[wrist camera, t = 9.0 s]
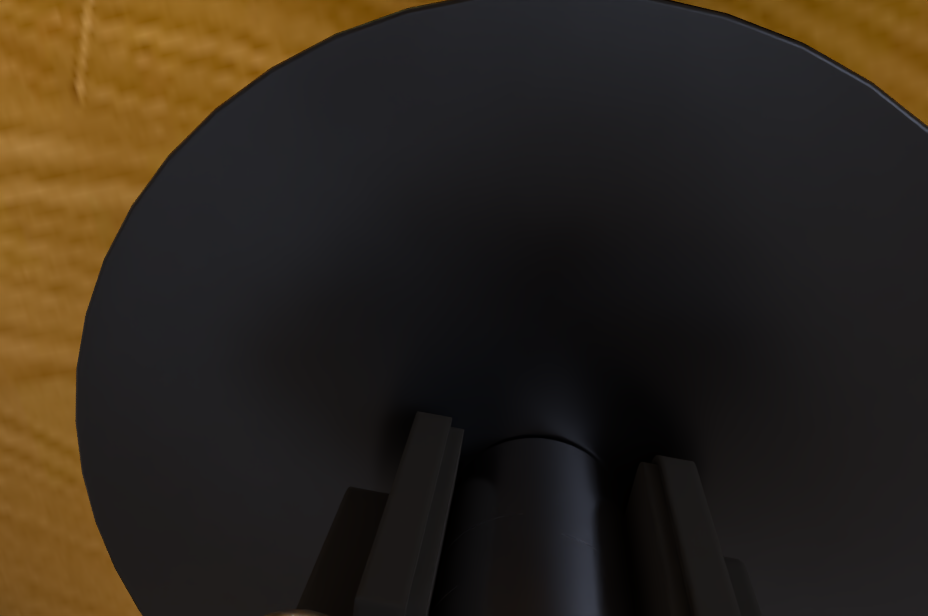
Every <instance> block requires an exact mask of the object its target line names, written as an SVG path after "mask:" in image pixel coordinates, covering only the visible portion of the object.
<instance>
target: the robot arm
mask: <svg viewBox="0 0 928 616" xmlns="http://www.w3.org/2000/svg"><path fill="white" fill-rule="evenodd" d="M451 423H452V417H447V416H441V415H436V414H430V413H425V412H419V411H417V413H416V415H415V418H414V421H413V424H412V427H411V430H410V433H409V437H408V440H407V443H406V446H405V449H404V452H403V455H402V458H401V461H400V464H399V467H398V470H397V473H396V476H395V479H394V482H393V485H392V488H391V491H390V494H388V493H383V492H377V491H372V490H367V489H361V488H356V487H351V486H350V487H349V488H347V490H346V492H345V494H344V496H343V499H342V501H341V504H340V506H339V508H338V511H337V513H336V515H335V518H334V520H333V523H332V525H331V527H330V530H329V532H328V534H327V537H326V539H325V542H324V544H323V546H322V549H321V551H320V553H319V556H318V558H317V561H316V563H315V565H314V568H313V570H312V572H311V575H310V577H309V579H308V582H307V584H306V587H305V589H304V591H303V594H302V596H301V598H300V601H299V603H298V606H297V608H296V609H288V610H283V611H278V612H273V613H270V614H267V615H265V616H429V612H430V607H431V603H432V598H433V593H434V588H435V583H436V578H437V573H438V568H439V563H440V558H441V553H442V548H443V543H444V538H445V533H446V528H447V523H448V518H449V513H450V509H451V504H452V499H453V494H454V488H455V482H456V476H457V470H458V464H459V458H460V452H461V446H462V440H463V434H464V429H460V428H454V427H451ZM624 527H625V534H626V542H627V549H628V557H629V564H630V572H631V579H632V587H633V594H634V602H635V609H636V616H762V613H761V610H760V607H759V604H758V601H757V598H756V596H755V593H754V590H753V587H752V584H751V581H750V578H749V575H748V572H747V569H746V567H745V565H744V563H743V562H742V561H740V560H739V559H734V558H729V557H724V556H723V554H722V550H721V547H720V544H719V540H718V537H717V534H716V530H715V527H714V524H713V520H712V517H711V514H710V510H709V507H708V504H707V500H706V497H705V494H704V491H703V487H702V484H701V481H700V477H699V474H698V471H697V467H696V465H695V463H694V462H692V461H688V460H682V459H677V458H671V457H666V456H660V455H656V456H655V457H654V458H653V460H652V463H645V462H641V463H640V464H639V466H638V469H637V472H636V475H635V479H634V483H633V486H632V490H631V494H630V497H629V501H628V505H627V508H626V512H625V516H624Z"/></svg>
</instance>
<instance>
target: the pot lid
mask: <svg viewBox="0 0 928 616" xmlns="http://www.w3.org/2000/svg"><path fill="white" fill-rule="evenodd" d="M417 411H419V412H425V413H430V414H436V415H441V416H447V417H452V423H451V427H454V428H460V429H464V434H463V440H462V446H461V452H460V458H459V464H458V470H457V476H456V482H455V488H454V494H453V499H452V504H451V509H450V513H449V518H448V523H447V528H446V533H445V538H444V543H443V548H442V553H441V558H440V563H439V568H438V573H437V578H436V583H435V588H434V593H433V598H432V603H431V607H430V612H429V616H636V609H635V602H634V594H633V587H632V579H631V572H630V564H629V557H628V549H627V542H626V534H625V527H624V516H625V512H626V508H627V505H628V501H629V497H630V494H631V490H632V486H633V483H634V479H635V475H636V472H637V469H638V466H639V464H640V463H641V462H645V463H652V460H653V458H654V457H655V456H656V455H660V456H666V457H671V458H677V459H682V460H688V461H692V462H694V463H695V465H696V467H697V471H698V474H699V477H700V481H701V484H702V487H703V491H704V494H705V497H706V500H707V504H708V507H709V510H710V514H711V517H712V520H713V524H714V527H715V530H716V534H717V537H718V540H719V544H720V547H721V550H722V554H723V556H724V557H729V558H734V559H739V560H740V561H742V562H743V563H744V565H745V567H746V569H747V572H748V575H749V578H750V581H751V584H752V587H753V590H754V593H755V596H756V598H757V601H758V604H759V607H760V610H761V613H762V616H928V126H927V125H925V124H924V123H923V122H922V121H920V120H919V119H918V118H917V117H915V116H914V115H913V114H912V113H910V112H909V111H908V110H906V109H905V108H904V107H903V106H901V105H900V104H899V103H898V102H896V101H895V100H894V99H893V98H891V97H890V96H889V95H888V94H886V93H885V92H884V91H883V90H881V89H880V88H879V87H878V86H876V85H875V84H874V83H872V82H871V81H869V80H867V79H866V78H864V77H862V76H860V75H859V74H857V73H855V72H853V71H852V70H850V69H848V68H846V67H845V66H843V65H841V64H839V63H838V62H836V61H834V60H832V59H831V58H829V57H827V56H825V55H824V54H822V53H820V52H818V51H817V50H815V49H813V48H811V47H810V46H808V45H806V44H804V43H802V42H800V41H797V40H794V39H792V38H789V37H787V36H784V35H782V34H779V33H776V32H774V31H771V30H769V29H766V28H764V27H761V26H758V25H756V24H753V23H751V22H748V21H746V20H743V19H740V18H738V17H735V16H733V15H730V14H727V13H723V12H719V11H714V10H710V9H706V8H701V7H697V6H693V5H688V4H684V3H680V2H675V1H671V0H446V1H441V2H436V3H431V4H426V5H421V6H417V7H412V8H407V9H404V10H401V11H398V12H396V13H393V14H390V15H387V16H384V17H382V18H379V19H376V20H373V21H370V22H367V23H365V24H362V25H359V26H356V27H353V28H350V29H348V30H345V31H342V32H339V33H336V34H334V35H332V36H330V37H328V38H327V39H325V40H323V41H321V42H319V43H317V44H315V45H313V46H311V47H310V48H308V49H306V50H304V51H302V52H300V53H298V54H296V55H294V56H292V57H291V58H289V59H287V60H285V61H283V62H281V63H279V64H277V65H275V66H273V67H272V68H270V69H269V70H267V71H266V72H265V73H263V74H262V75H261V76H259V77H258V78H256V79H255V80H254V81H252V82H251V83H250V84H248V85H247V86H246V87H244V88H243V89H241V90H240V91H239V92H237V93H236V94H235V95H233V96H232V97H231V98H229V99H228V100H227V101H225V102H224V103H222V104H221V105H220V106H218V107H217V108H216V109H214V110H213V111H212V112H211V113H210V114H209V115H208V116H207V117H206V118H205V119H204V120H203V121H202V122H201V123H200V124H199V125H198V126H197V127H196V128H195V129H194V130H193V131H192V132H191V133H190V134H189V135H188V136H187V137H186V138H185V139H184V140H183V141H182V142H181V143H180V144H179V145H178V146H177V147H176V148H175V149H174V150H173V151H172V152H171V153H170V154H169V155H168V157H167V158H166V160H165V161H164V162H163V164H162V165H161V166H160V168H159V169H158V170H157V172H156V173H155V175H154V176H153V177H152V179H151V180H150V181H149V183H148V184H147V185H146V187H145V188H144V190H143V191H142V192H141V194H140V195H139V196H138V198H137V199H136V200H135V202H134V203H133V205H132V206H131V208H130V210H129V212H128V214H127V216H126V218H125V219H124V221H123V223H122V225H121V227H120V229H119V231H118V233H117V235H116V237H115V239H114V241H113V243H112V245H111V247H110V248H109V250H108V252H107V254H106V256H105V258H104V261H103V264H102V267H101V270H100V273H99V276H98V279H97V282H96V285H95V288H94V291H93V294H92V297H91V300H90V303H89V306H88V309H87V312H86V316H85V322H84V327H83V333H82V339H81V345H80V351H79V357H78V363H77V371H76V429H77V437H78V444H79V452H80V460H81V468H82V474H83V478H84V482H85V485H86V489H87V493H88V496H89V500H90V504H91V507H92V511H93V515H94V518H95V522H96V524H97V527H98V529H99V532H100V534H101V536H102V539H103V541H104V543H105V546H106V548H107V551H108V553H109V555H110V558H111V560H112V563H113V565H114V567H115V569H116V571H117V573H118V575H119V576H120V578H121V580H122V582H123V583H124V585H125V587H126V588H127V590H128V592H129V594H130V595H131V597H132V599H133V601H134V602H135V604H136V606H137V608H138V609H139V611H140V613H141V614H142V615H143V616H265V615H267V614H270V613H273V612H278V611H283V610H288V609H296V608H297V606H298V603H299V601H300V598H301V596H302V594H303V591H304V589H305V587H306V584H307V582H308V579H309V577H310V575H311V572H312V570H313V568H314V565H315V563H316V561H317V558H318V556H319V553H320V551H321V549H322V546H323V544H324V542H325V539H326V537H327V534H328V532H329V530H330V527H331V525H332V523H333V520H334V518H335V515H336V513H337V511H338V508H339V506H340V504H341V501H342V499H343V496H344V494H345V492H346V490H347V488H349V487H350V486H351V487H356V488H361V489H367V490H372V491H377V492H383V493H388V494H390V491H391V488H392V485H393V482H394V479H395V476H396V473H397V470H398V467H399V464H400V461H401V458H402V455H403V452H404V449H405V446H406V443H407V440H408V437H409V433H410V430H411V427H412V424H413V421H414V418H415V415H416V413H417Z"/></svg>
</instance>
